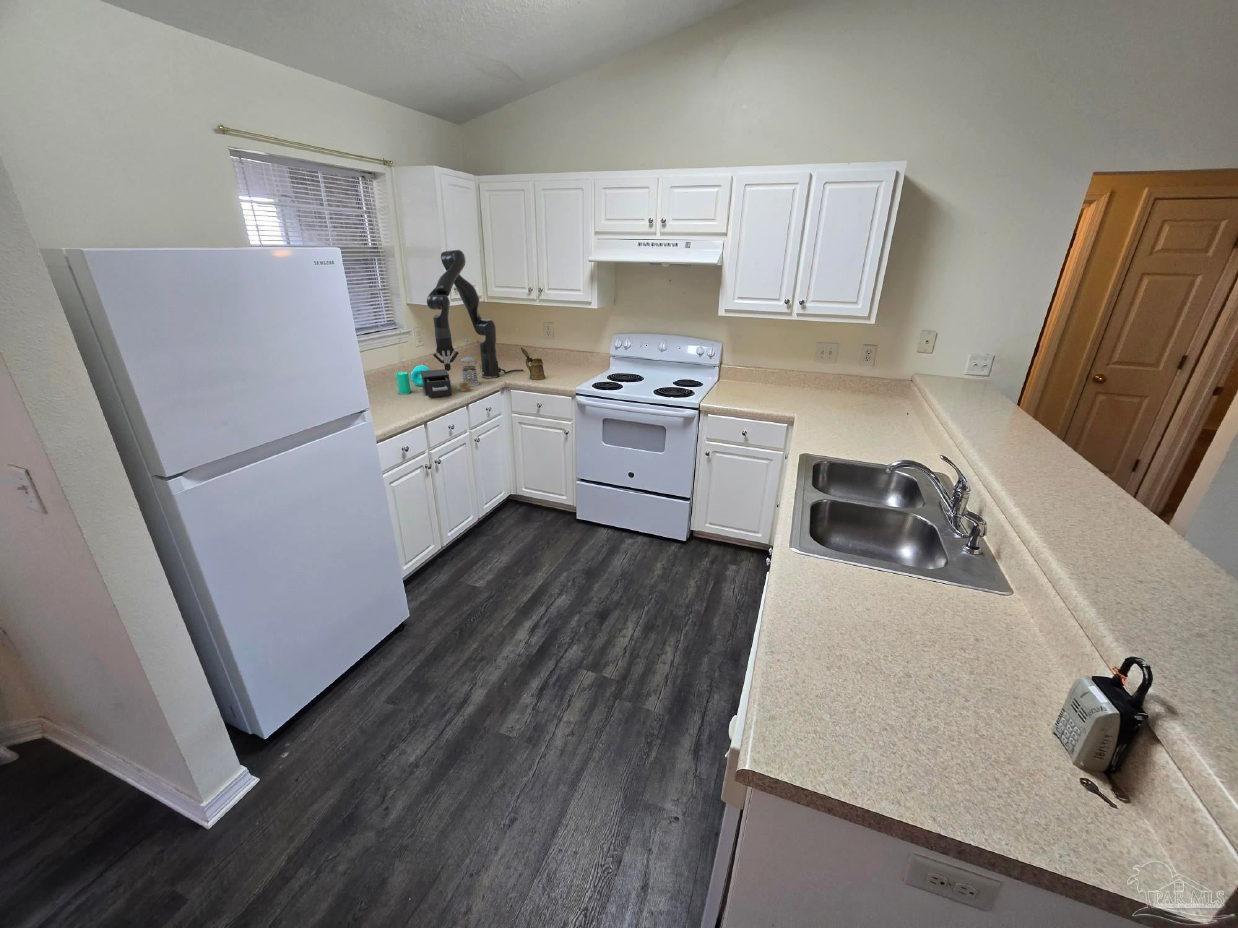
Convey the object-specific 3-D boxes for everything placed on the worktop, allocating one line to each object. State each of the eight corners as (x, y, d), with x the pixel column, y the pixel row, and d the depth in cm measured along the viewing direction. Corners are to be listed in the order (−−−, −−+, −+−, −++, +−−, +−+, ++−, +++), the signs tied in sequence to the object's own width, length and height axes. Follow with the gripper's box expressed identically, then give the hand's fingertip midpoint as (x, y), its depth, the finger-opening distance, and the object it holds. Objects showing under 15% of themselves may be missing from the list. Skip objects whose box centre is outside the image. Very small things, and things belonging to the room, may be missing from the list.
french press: (459, 383, 291) (454, 338, 281) (480, 380, 296) (475, 337, 286) (464, 386, 283) (458, 341, 273) (484, 384, 288) (480, 339, 279)
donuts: (411, 386, 283) (408, 369, 279) (414, 382, 292) (411, 365, 288) (430, 386, 284) (427, 368, 281) (432, 381, 294) (430, 364, 290)
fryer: (451, 392, 272) (448, 374, 268) (425, 395, 267) (423, 376, 263) (447, 386, 284) (445, 369, 280) (423, 388, 279) (420, 371, 275)
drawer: (453, 397, 259) (451, 382, 256) (429, 400, 255) (427, 384, 252) (448, 389, 275) (446, 374, 272) (426, 391, 271) (423, 376, 267)
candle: (396, 393, 270) (392, 370, 265) (404, 390, 275) (401, 368, 271) (405, 394, 268) (401, 371, 263) (413, 391, 273) (410, 369, 269)
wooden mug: (524, 376, 308) (522, 345, 301) (546, 376, 307) (545, 346, 300) (520, 379, 300) (518, 348, 293) (543, 380, 299) (541, 349, 292)
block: (468, 388, 279) (467, 380, 277) (470, 390, 275) (469, 382, 274) (460, 389, 277) (459, 381, 276) (461, 391, 274) (460, 383, 272)
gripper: (455, 334, 260) (460, 367, 267) (428, 336, 255) (433, 370, 262) (457, 336, 254) (462, 371, 261) (430, 338, 249) (435, 373, 256)
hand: (448, 370), depth 262 cm, fingers closed
